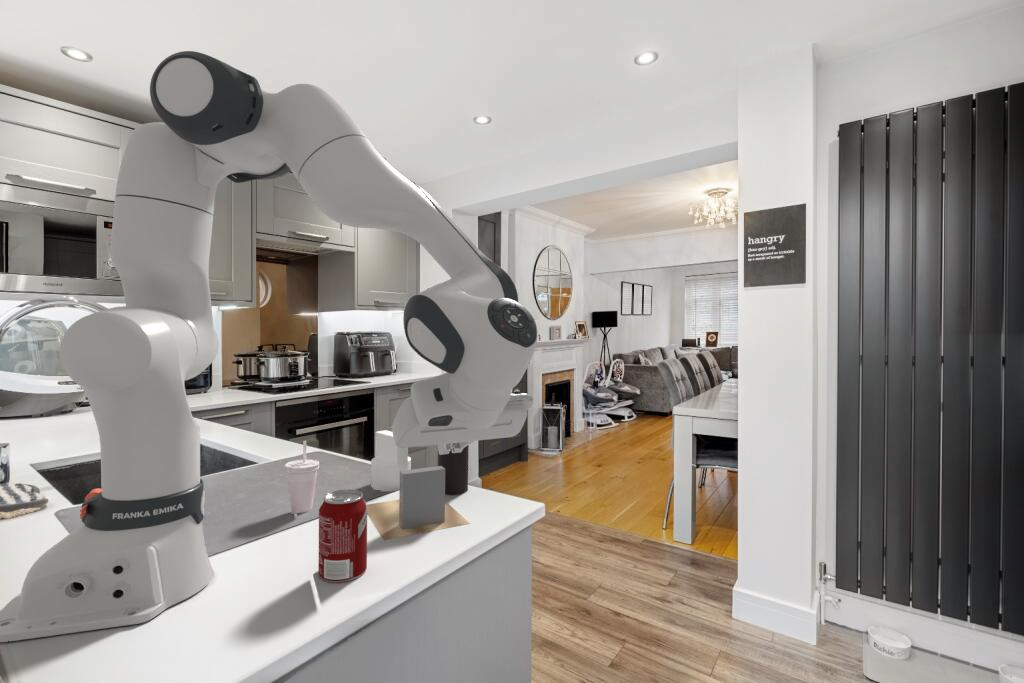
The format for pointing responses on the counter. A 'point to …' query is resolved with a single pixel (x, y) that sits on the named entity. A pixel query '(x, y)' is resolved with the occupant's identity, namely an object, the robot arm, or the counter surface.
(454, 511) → the mat
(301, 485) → the smoothie
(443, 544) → the counter surface
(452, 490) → the bottle
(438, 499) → the tile
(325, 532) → the soda can
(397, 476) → the cylinder with rectangular tab
